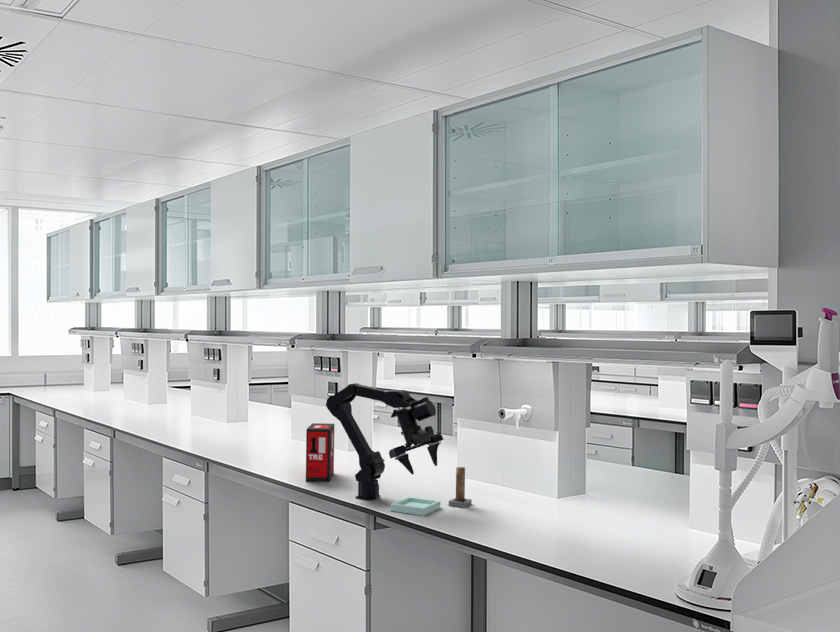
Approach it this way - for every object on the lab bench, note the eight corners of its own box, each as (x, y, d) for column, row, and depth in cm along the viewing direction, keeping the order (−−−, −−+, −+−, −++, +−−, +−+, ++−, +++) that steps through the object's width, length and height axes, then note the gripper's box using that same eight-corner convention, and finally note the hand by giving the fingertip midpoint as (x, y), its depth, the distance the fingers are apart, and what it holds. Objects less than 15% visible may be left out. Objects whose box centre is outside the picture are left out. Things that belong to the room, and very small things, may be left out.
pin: (454, 505, 259) (454, 468, 259) (457, 503, 262) (458, 466, 262) (462, 506, 258) (462, 468, 258) (465, 504, 260) (466, 467, 260)
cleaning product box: (311, 473, 310) (312, 423, 310) (333, 473, 310) (334, 423, 310) (305, 481, 293) (306, 429, 293) (329, 482, 293) (329, 429, 293)
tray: (390, 510, 250) (391, 504, 250) (408, 503, 261) (408, 496, 261) (423, 515, 245) (423, 508, 245) (440, 507, 255) (440, 501, 255)
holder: (448, 505, 258) (448, 500, 258) (455, 502, 263) (455, 497, 264) (464, 507, 256) (464, 502, 256) (471, 504, 261) (471, 499, 261)
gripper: (394, 428, 250) (410, 475, 247) (442, 413, 259) (458, 457, 256) (381, 435, 259) (397, 480, 256) (428, 420, 268) (443, 463, 265)
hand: (424, 470), depth 258 cm, fingers open, 9 cm apart
